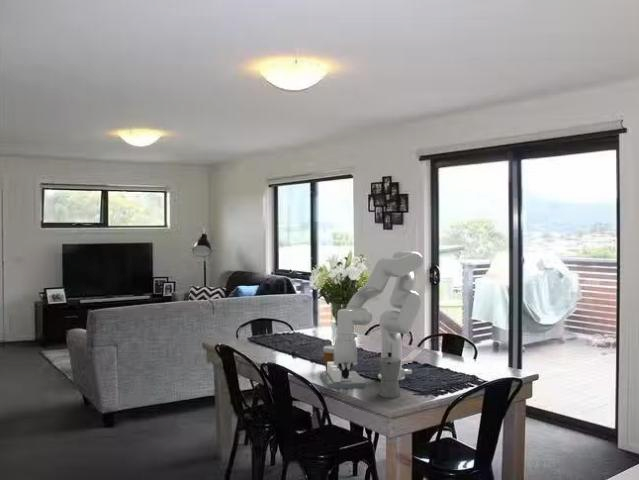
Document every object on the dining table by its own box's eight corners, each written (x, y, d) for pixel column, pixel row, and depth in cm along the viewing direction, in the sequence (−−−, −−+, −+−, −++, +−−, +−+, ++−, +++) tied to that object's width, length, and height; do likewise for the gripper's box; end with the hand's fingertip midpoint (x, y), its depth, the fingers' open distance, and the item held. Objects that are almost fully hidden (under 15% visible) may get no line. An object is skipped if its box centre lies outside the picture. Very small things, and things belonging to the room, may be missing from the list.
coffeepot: (400, 399, 249) (400, 356, 249) (377, 398, 251) (377, 355, 250) (401, 389, 264) (401, 348, 264) (379, 388, 266) (379, 347, 265)
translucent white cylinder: (422, 350, 320) (389, 356, 304) (423, 361, 320) (389, 368, 304) (414, 348, 324) (381, 355, 308) (414, 360, 324) (381, 366, 308)
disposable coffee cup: (325, 374, 292) (325, 349, 291) (320, 369, 301) (320, 345, 300) (344, 373, 294) (344, 348, 294) (338, 368, 303) (338, 344, 303)
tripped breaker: (338, 379, 273) (338, 368, 272) (340, 382, 268) (340, 370, 268) (332, 379, 272) (332, 368, 272) (334, 382, 268) (334, 371, 268)
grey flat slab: (355, 375, 290) (355, 370, 290) (365, 387, 268) (365, 382, 268) (320, 376, 287) (320, 372, 287) (327, 388, 266) (327, 384, 266)
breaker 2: (336, 375, 280) (336, 364, 279) (337, 378, 275) (337, 367, 275) (329, 376, 279) (329, 365, 279) (331, 378, 275) (331, 367, 275)
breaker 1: (333, 372, 286) (333, 361, 286) (335, 374, 282) (335, 363, 282) (327, 372, 286) (327, 361, 286) (328, 374, 282) (328, 363, 281)
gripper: (360, 335, 275) (359, 375, 276) (327, 335, 273) (327, 376, 273) (364, 338, 268) (363, 379, 268) (330, 338, 265) (330, 380, 266)
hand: (345, 378), depth 271 cm, fingers closed
